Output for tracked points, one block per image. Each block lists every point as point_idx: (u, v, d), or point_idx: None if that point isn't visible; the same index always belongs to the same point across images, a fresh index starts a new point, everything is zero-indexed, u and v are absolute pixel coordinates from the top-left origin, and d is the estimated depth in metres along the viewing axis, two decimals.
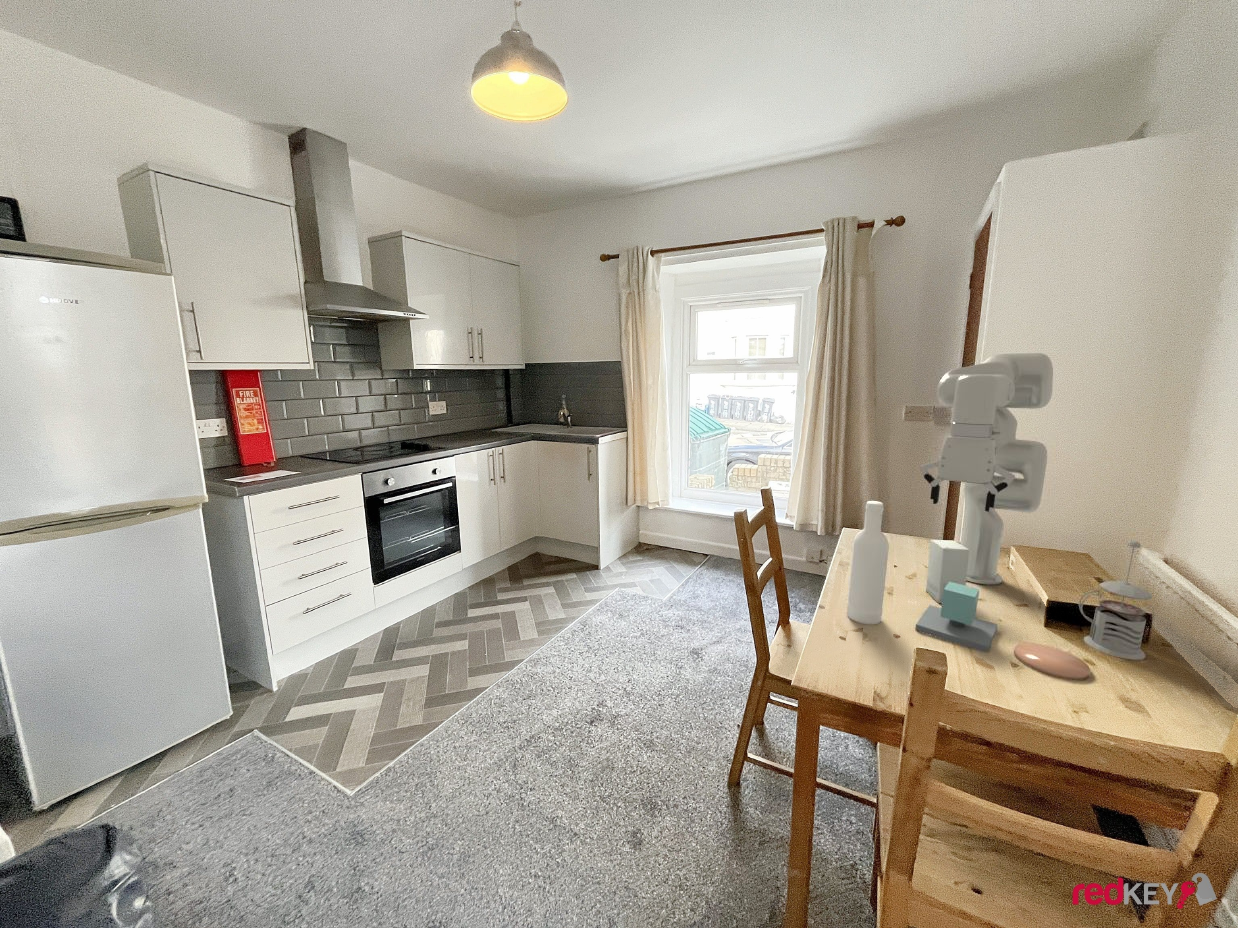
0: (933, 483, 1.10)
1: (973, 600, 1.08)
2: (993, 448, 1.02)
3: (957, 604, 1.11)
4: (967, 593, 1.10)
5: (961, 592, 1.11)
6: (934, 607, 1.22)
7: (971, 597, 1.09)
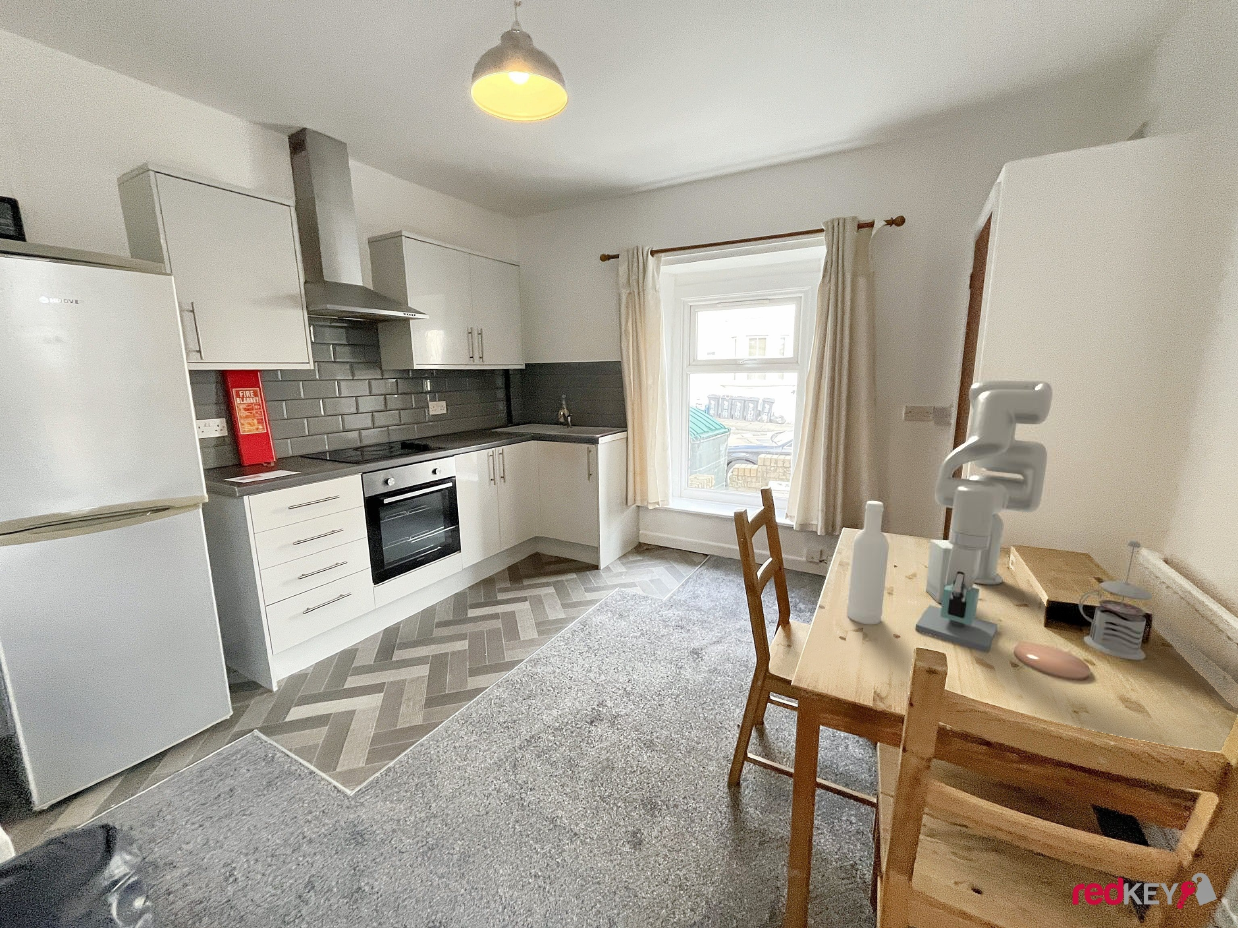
0: None
1: (973, 600, 1.08)
2: None
3: None
4: (967, 593, 1.10)
5: (961, 592, 1.11)
6: (934, 607, 1.22)
7: (971, 597, 1.09)
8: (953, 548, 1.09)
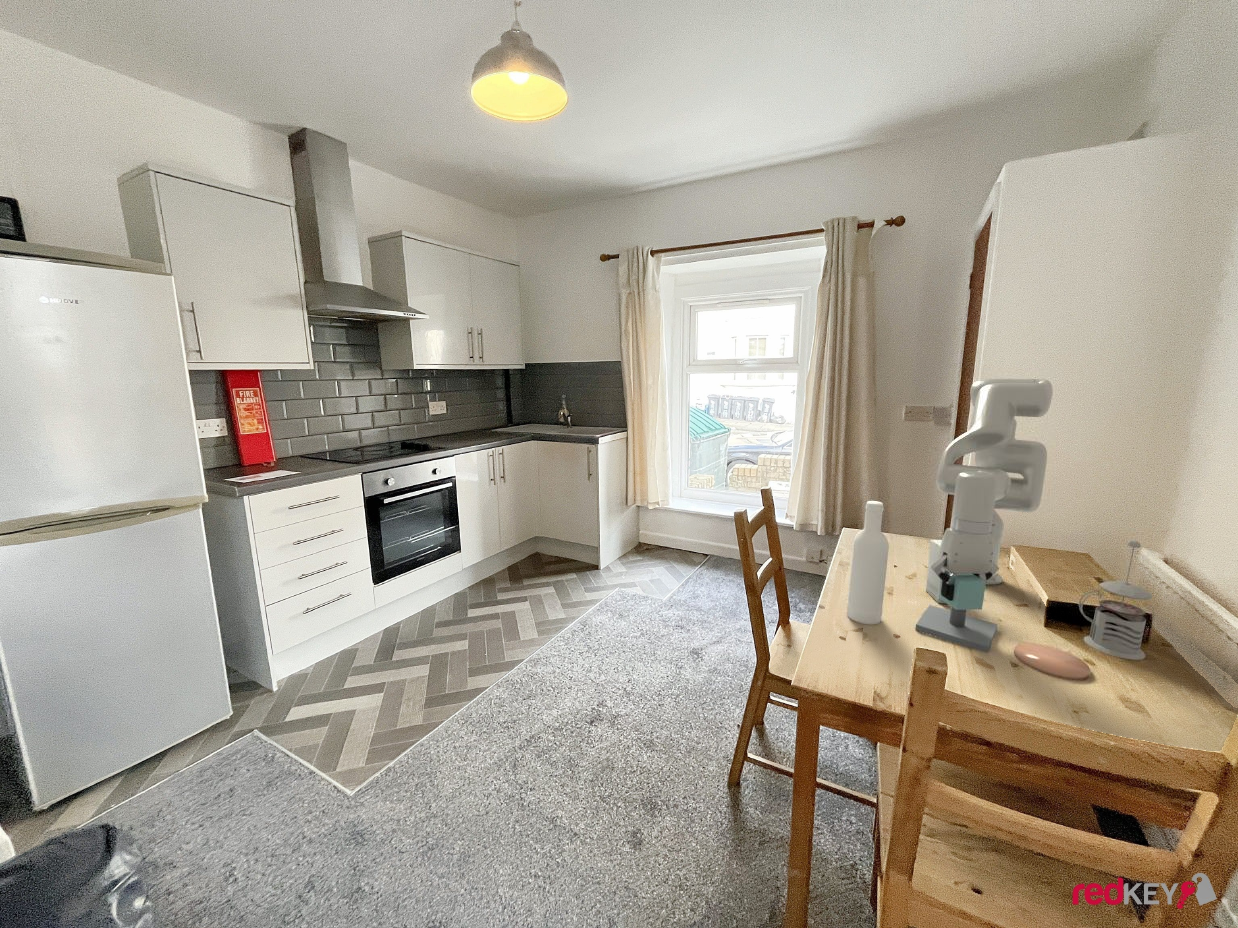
0: (949, 581, 1.11)
1: (958, 584, 1.09)
2: None
3: None
4: (959, 578, 1.11)
5: None
6: (934, 607, 1.22)
7: (957, 582, 1.10)
8: (946, 530, 1.12)
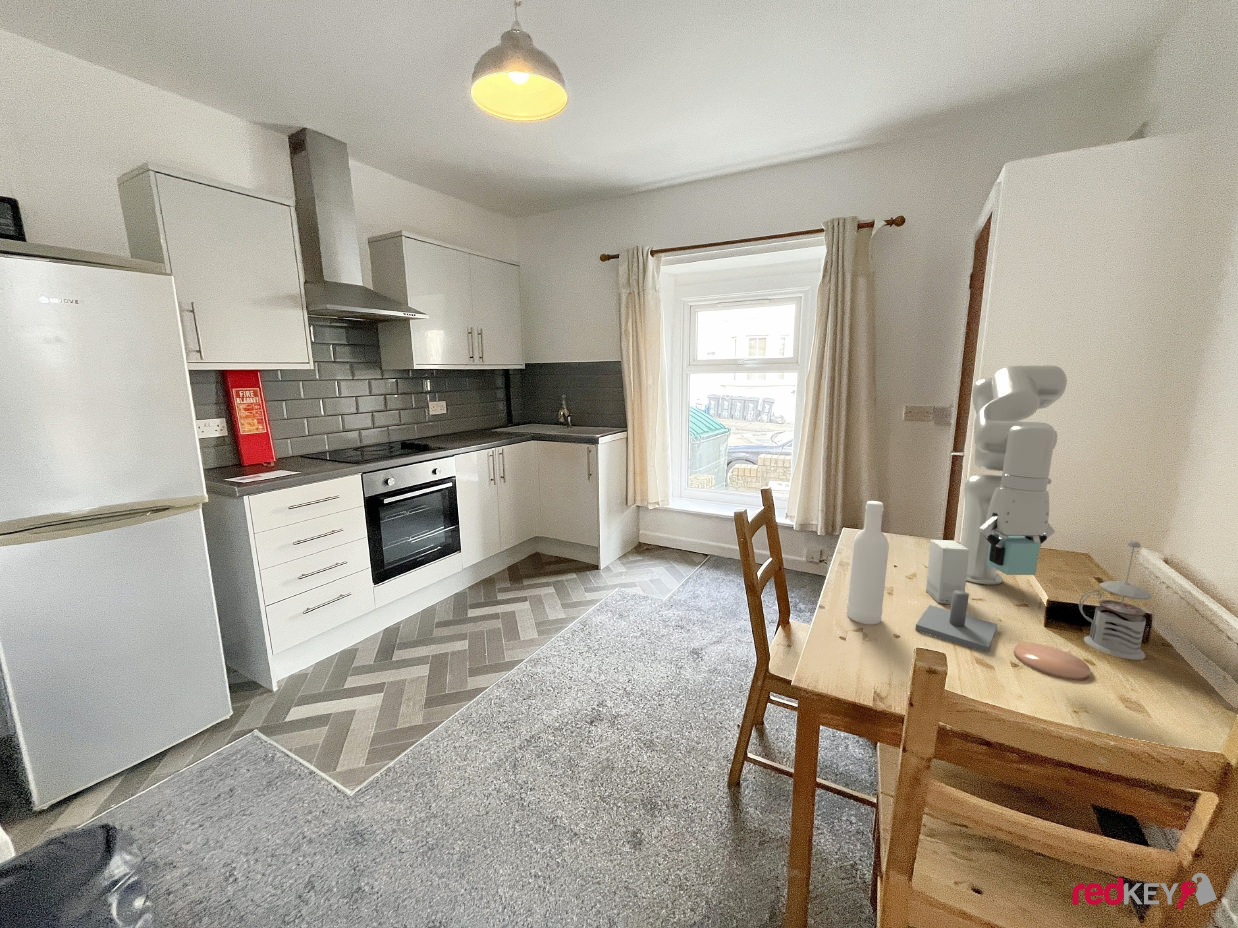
0: (999, 544, 1.02)
1: (1010, 547, 1.01)
2: None
3: None
4: (1010, 541, 1.02)
5: None
6: (934, 607, 1.22)
7: (1009, 544, 1.01)
8: (995, 489, 1.04)
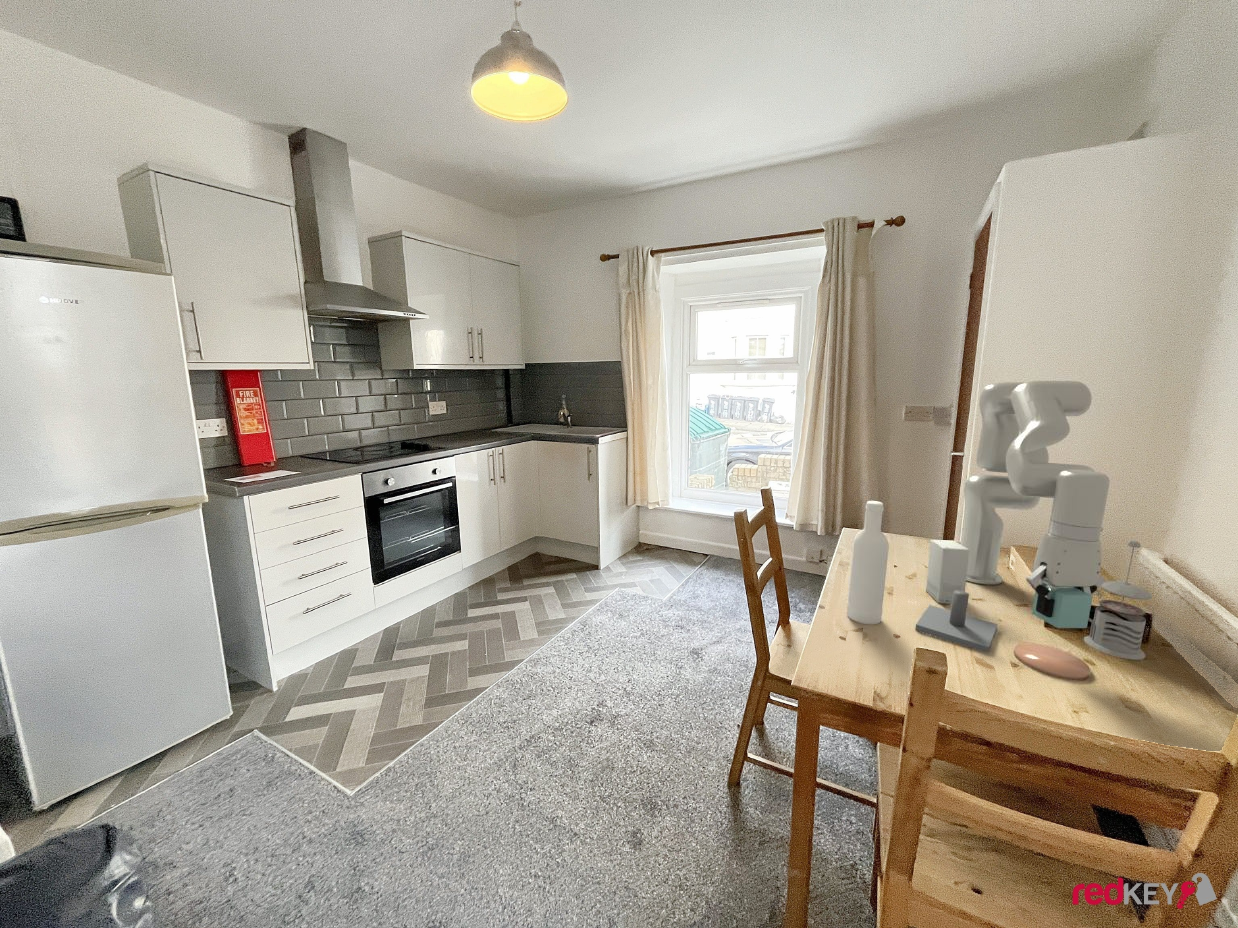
0: (1049, 595, 0.97)
1: (1061, 599, 0.95)
2: None
3: None
4: (1061, 592, 0.97)
5: None
6: (934, 607, 1.22)
7: (1059, 596, 0.96)
8: (1043, 536, 0.98)
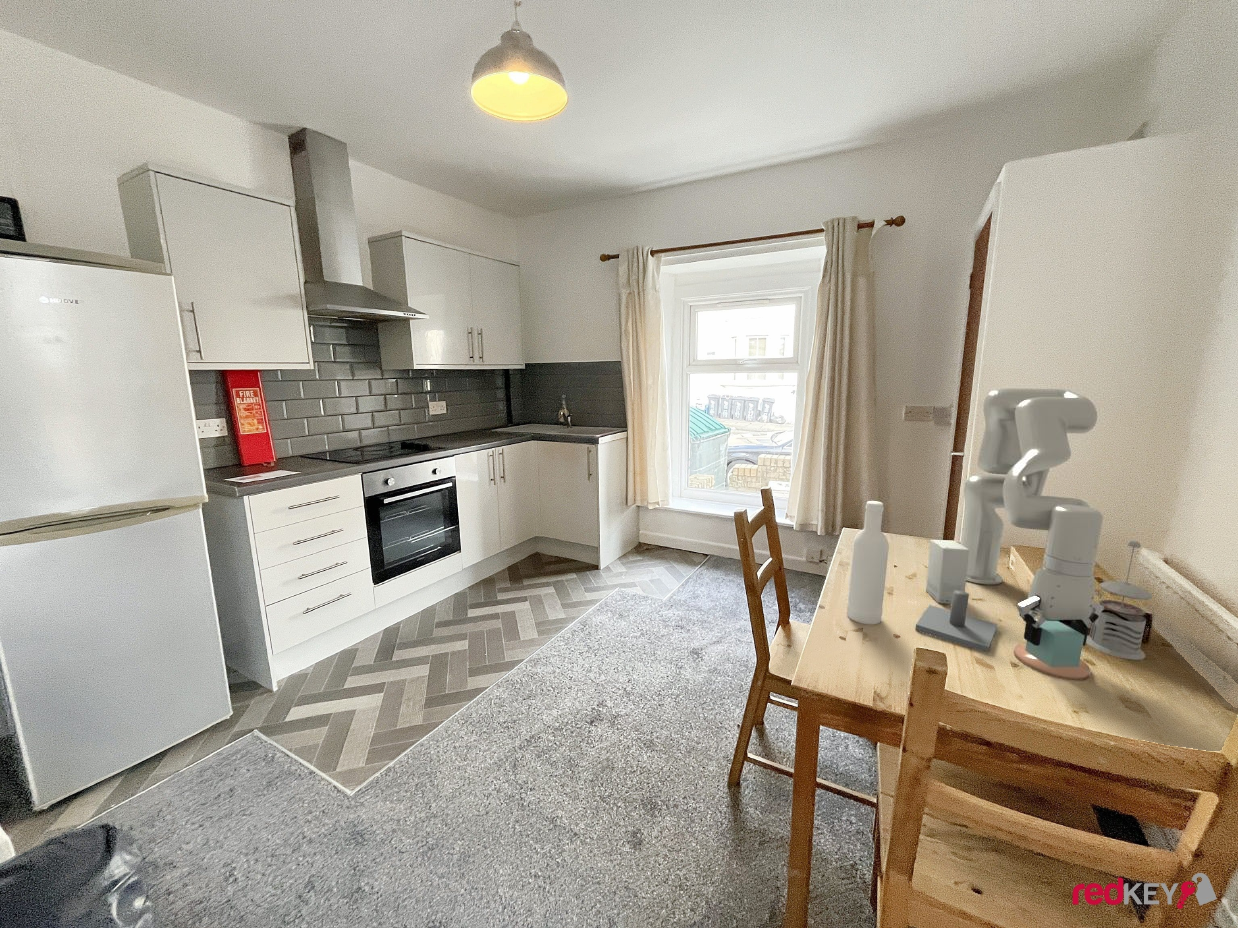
0: (1036, 624, 0.98)
1: (1053, 639, 0.97)
2: None
3: None
4: (1053, 631, 0.98)
5: (1047, 628, 0.99)
6: (934, 607, 1.22)
7: (1052, 635, 0.97)
8: None
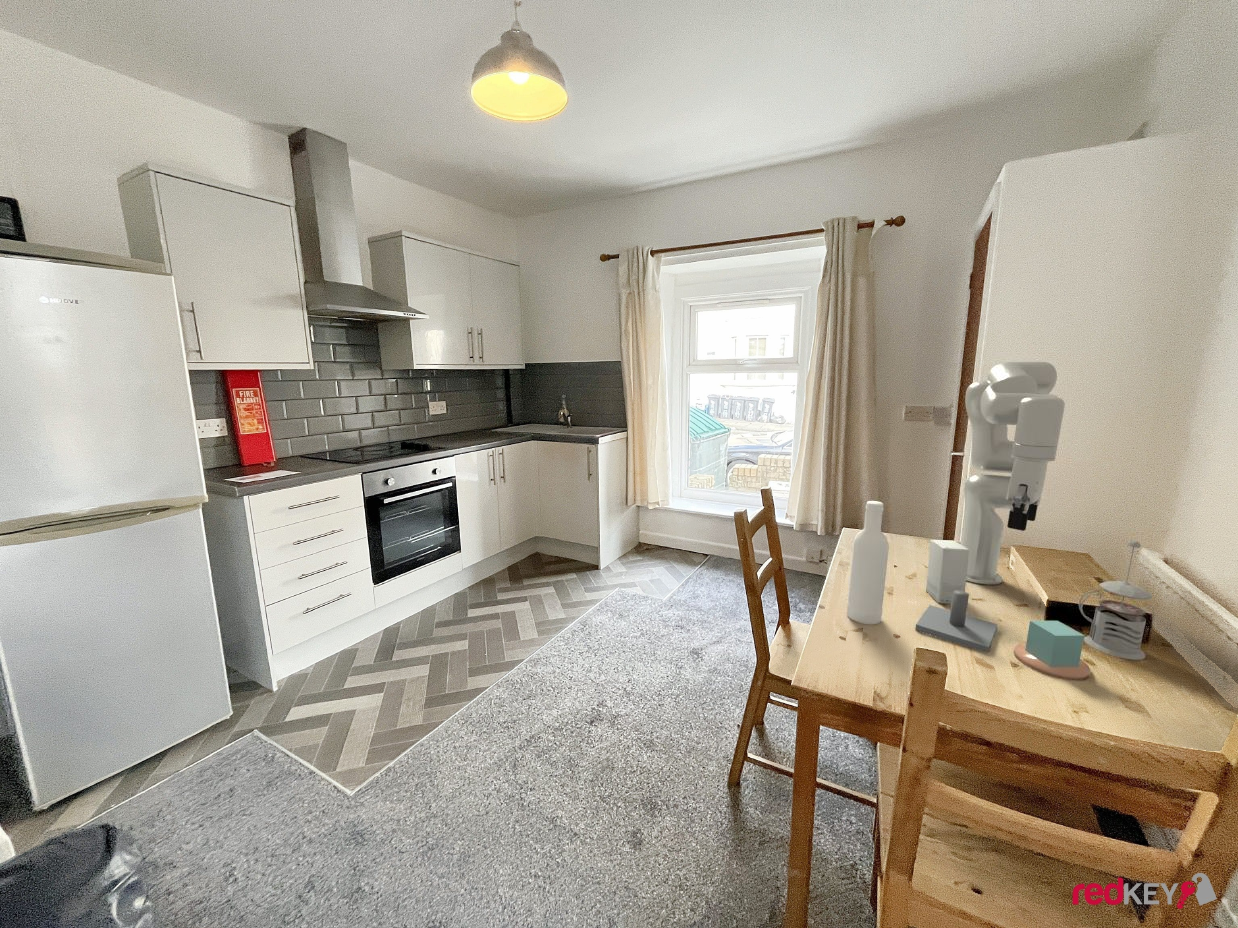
0: (1026, 510, 1.05)
1: (1053, 639, 0.97)
2: None
3: (1039, 639, 1.00)
4: (1053, 631, 0.98)
5: (1047, 628, 0.99)
6: (934, 607, 1.22)
7: (1052, 635, 0.97)
8: (1016, 461, 1.06)
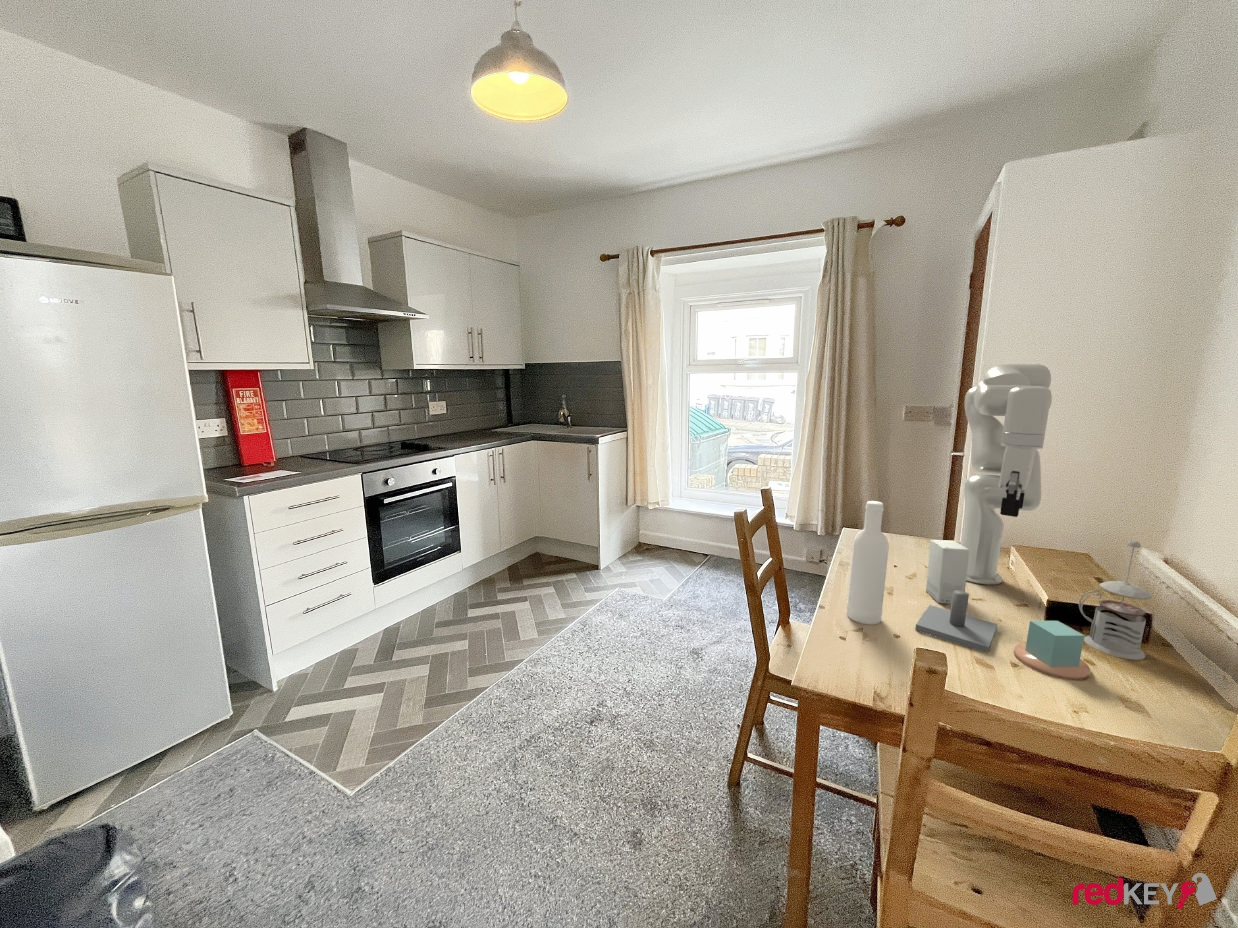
0: (1018, 497, 1.08)
1: (1053, 639, 0.97)
2: None
3: (1039, 639, 1.00)
4: (1053, 631, 0.98)
5: (1047, 628, 0.99)
6: (934, 607, 1.22)
7: (1052, 635, 0.97)
8: (1007, 449, 1.09)
